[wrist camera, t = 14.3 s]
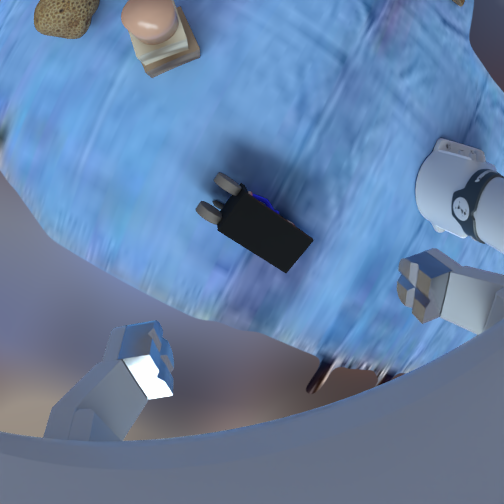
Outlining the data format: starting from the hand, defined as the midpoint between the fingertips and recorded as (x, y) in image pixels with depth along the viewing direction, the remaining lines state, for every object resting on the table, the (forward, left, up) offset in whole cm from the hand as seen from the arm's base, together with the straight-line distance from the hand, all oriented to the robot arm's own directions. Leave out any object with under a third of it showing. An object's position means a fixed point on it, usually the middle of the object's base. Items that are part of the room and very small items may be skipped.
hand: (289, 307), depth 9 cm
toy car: (-3, +9, -34) cm, 36 cm away
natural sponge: (+16, -28, -34) cm, 47 cm away
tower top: (+4, -18, -29) cm, 35 cm away
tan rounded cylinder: (+4, -18, -24) cm, 30 cm away
